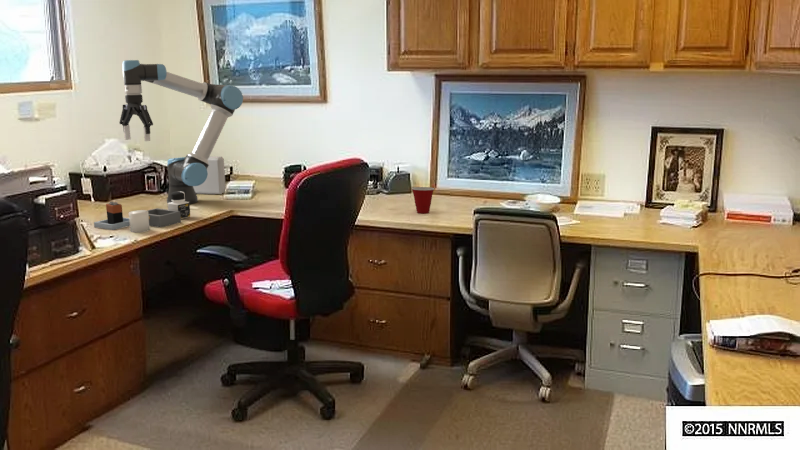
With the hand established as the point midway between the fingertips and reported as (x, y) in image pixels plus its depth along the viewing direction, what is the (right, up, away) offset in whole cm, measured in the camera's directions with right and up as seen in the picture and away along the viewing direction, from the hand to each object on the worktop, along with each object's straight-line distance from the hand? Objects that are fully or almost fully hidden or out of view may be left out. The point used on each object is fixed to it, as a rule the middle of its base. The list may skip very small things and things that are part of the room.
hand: (137, 140), depth 354 cm
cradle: (+15, -39, -15) cm, 44 cm away
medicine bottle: (+21, -36, -3) cm, 42 cm away
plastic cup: (+134, -34, +2) cm, 138 cm away
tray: (-3, -40, -19) cm, 44 cm away
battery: (-3, -39, -19) cm, 44 cm away
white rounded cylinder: (+11, -42, -28) cm, 52 cm away
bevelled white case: (+18, -22, +58) cm, 65 cm away
